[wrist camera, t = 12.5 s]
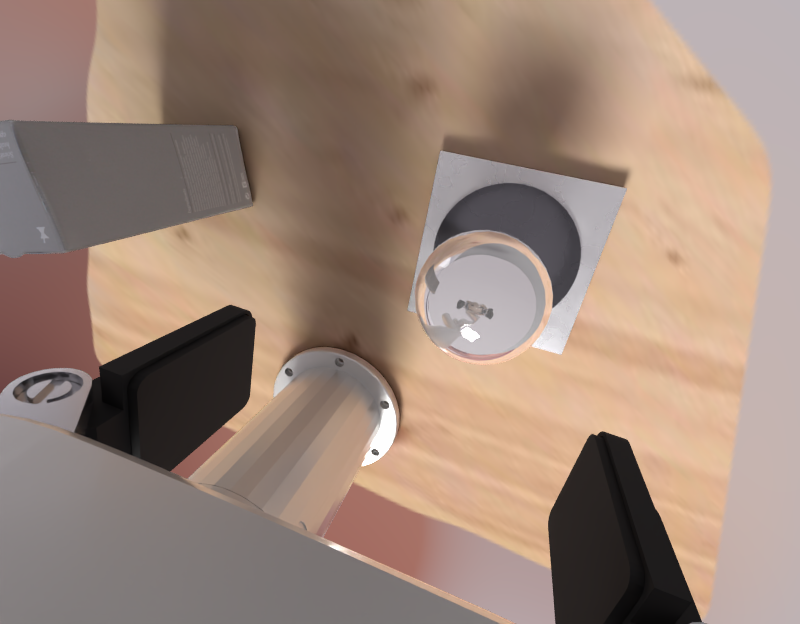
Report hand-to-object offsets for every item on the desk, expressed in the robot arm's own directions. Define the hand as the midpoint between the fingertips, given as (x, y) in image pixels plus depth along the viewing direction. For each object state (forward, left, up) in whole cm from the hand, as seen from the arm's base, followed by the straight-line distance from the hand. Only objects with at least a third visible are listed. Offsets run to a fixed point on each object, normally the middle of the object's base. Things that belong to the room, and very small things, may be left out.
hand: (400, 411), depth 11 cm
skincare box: (+1, +24, -21) cm, 32 cm away
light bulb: (0, -1, -20) cm, 20 cm away
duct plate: (0, -2, -21) cm, 21 cm away
